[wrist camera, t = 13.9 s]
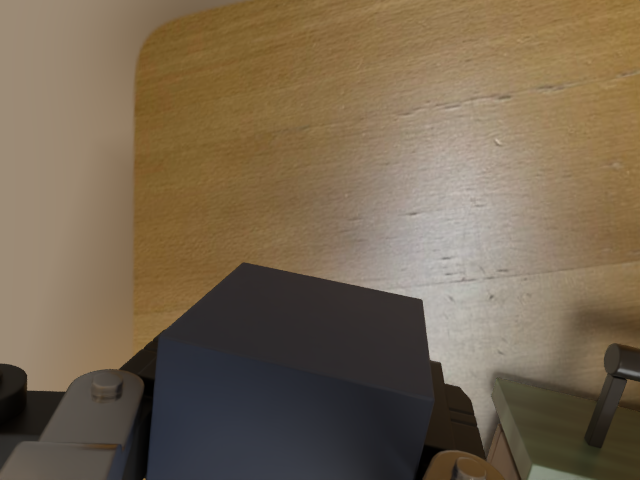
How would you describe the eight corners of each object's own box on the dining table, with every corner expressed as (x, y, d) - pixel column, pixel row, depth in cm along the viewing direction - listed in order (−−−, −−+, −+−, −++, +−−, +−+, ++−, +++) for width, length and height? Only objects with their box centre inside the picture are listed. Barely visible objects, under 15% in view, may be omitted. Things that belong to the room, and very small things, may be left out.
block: (222, 417, 14) (137, 557, 9) (242, 261, 13) (157, 334, 8) (386, 458, 13) (379, 625, 9) (423, 299, 12) (435, 399, 8)
